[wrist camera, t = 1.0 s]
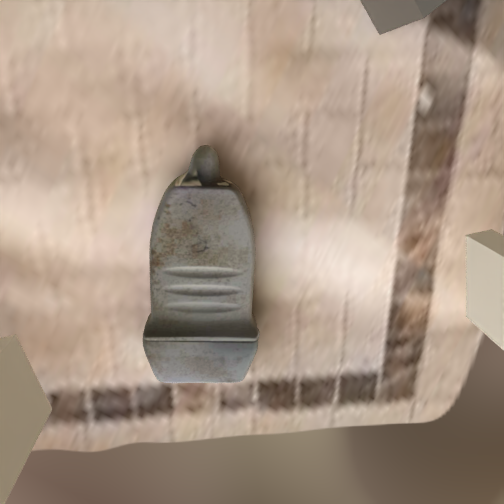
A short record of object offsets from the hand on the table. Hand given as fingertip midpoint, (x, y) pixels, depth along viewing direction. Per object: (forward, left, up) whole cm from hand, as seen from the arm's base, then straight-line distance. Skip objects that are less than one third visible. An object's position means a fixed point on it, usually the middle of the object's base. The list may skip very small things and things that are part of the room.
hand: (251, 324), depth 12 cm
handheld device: (+4, -6, -23) cm, 24 cm away
